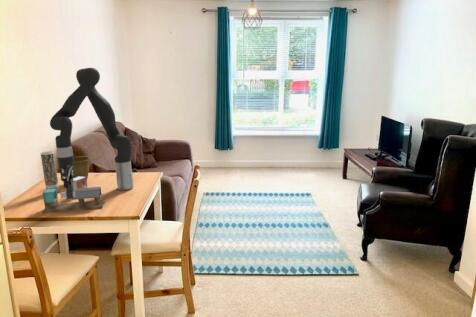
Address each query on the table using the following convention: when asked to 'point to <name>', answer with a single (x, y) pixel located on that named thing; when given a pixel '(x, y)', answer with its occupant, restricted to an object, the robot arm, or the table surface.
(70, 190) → the grey block with post
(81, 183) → the small box
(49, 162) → the paper tube
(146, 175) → the table surface
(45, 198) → the socket
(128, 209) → the table surface
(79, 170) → the plant pot
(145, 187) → the table surface
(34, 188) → the table surface
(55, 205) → the rig base
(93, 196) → the sleeve
